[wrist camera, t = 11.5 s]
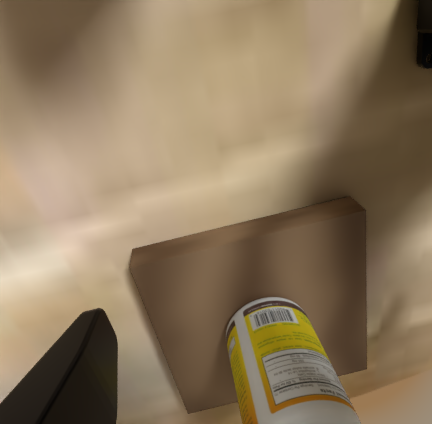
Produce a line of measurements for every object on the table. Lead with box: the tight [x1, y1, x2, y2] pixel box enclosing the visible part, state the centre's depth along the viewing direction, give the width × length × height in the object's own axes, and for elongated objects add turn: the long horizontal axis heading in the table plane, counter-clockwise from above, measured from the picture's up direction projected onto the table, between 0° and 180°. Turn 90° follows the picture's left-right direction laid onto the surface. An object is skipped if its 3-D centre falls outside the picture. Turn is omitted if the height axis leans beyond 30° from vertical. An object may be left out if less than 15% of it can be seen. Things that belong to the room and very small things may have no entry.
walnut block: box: [130, 196, 367, 414], centre depth 24 cm, size 14×14×2 cm
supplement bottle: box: [226, 297, 361, 424], centre depth 19 cm, size 6×6×10 cm
